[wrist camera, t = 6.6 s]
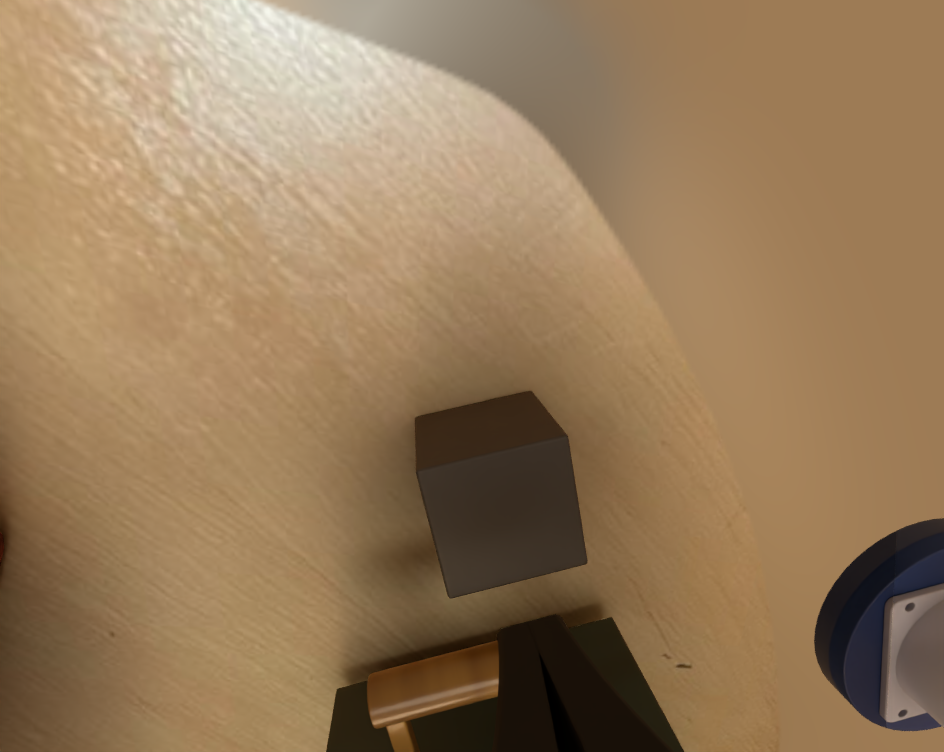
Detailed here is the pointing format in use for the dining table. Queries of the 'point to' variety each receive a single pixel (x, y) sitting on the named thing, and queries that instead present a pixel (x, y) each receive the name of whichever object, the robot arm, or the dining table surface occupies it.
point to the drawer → (468, 698)
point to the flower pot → (1, 546)
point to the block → (498, 493)
